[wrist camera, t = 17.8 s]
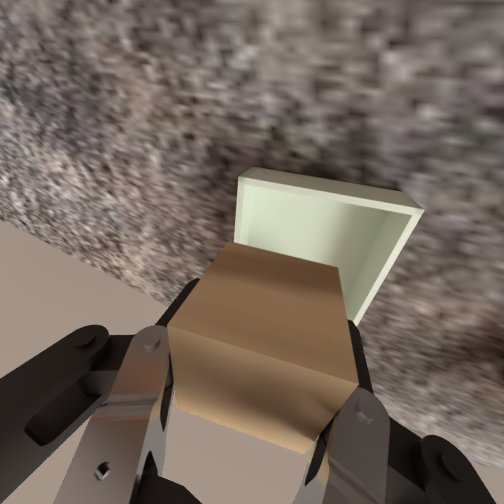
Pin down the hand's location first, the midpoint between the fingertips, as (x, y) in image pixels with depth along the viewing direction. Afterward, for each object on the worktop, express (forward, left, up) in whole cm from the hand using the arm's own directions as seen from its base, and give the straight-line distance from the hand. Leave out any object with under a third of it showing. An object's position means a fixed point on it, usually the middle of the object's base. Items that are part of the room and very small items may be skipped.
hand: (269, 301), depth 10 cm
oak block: (0, 0, 0) cm, 0 cm away
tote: (+7, +2, -16) cm, 18 cm away
